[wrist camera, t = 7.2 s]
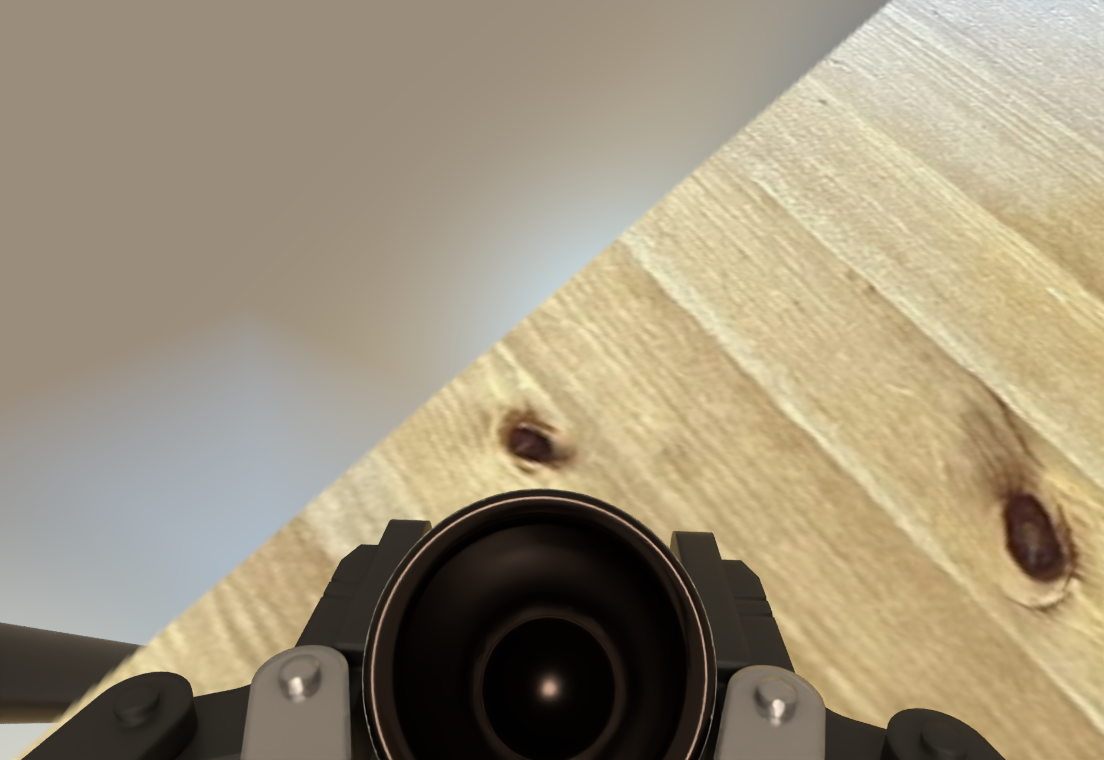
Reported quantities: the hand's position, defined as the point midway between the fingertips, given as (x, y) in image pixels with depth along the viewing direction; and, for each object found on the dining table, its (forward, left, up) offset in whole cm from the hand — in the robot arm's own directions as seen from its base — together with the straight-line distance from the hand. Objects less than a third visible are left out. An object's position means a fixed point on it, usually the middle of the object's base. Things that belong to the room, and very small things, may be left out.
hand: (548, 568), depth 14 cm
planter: (+1, -2, -6) cm, 7 cm away
